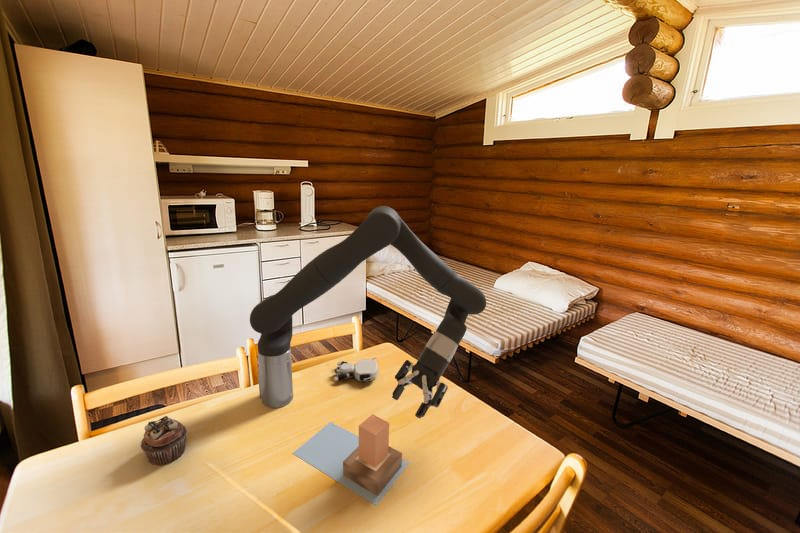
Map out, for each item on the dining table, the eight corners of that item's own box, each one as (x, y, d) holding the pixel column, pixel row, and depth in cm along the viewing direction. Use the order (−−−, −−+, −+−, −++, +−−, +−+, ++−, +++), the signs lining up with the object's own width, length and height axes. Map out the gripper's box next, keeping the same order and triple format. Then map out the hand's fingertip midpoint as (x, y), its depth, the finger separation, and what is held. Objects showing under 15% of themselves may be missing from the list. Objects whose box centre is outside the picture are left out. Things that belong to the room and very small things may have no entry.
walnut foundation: (343, 475, 85) (343, 460, 84) (368, 448, 93) (368, 435, 92) (377, 496, 80) (378, 481, 79) (401, 466, 88) (402, 452, 87)
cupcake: (197, 448, 92) (193, 414, 90) (158, 475, 84) (151, 439, 81) (175, 434, 97) (170, 402, 94) (135, 459, 88) (128, 424, 86)
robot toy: (333, 388, 120) (378, 386, 121) (331, 376, 119) (377, 374, 119) (338, 368, 132) (379, 366, 132) (337, 357, 131) (378, 355, 131)
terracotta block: (358, 457, 85) (358, 425, 83) (371, 445, 89) (372, 414, 87) (375, 468, 82) (375, 435, 80) (388, 454, 86) (389, 422, 84)
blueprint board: (292, 455, 91) (292, 453, 91) (330, 423, 103) (330, 421, 103) (376, 507, 78) (376, 505, 78) (409, 464, 90) (409, 462, 90)
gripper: (412, 337, 98) (379, 390, 95) (453, 360, 89) (418, 420, 85) (424, 346, 104) (394, 397, 100) (464, 369, 94) (432, 426, 91)
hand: (405, 407), depth 93 cm, fingers open, 8 cm apart
